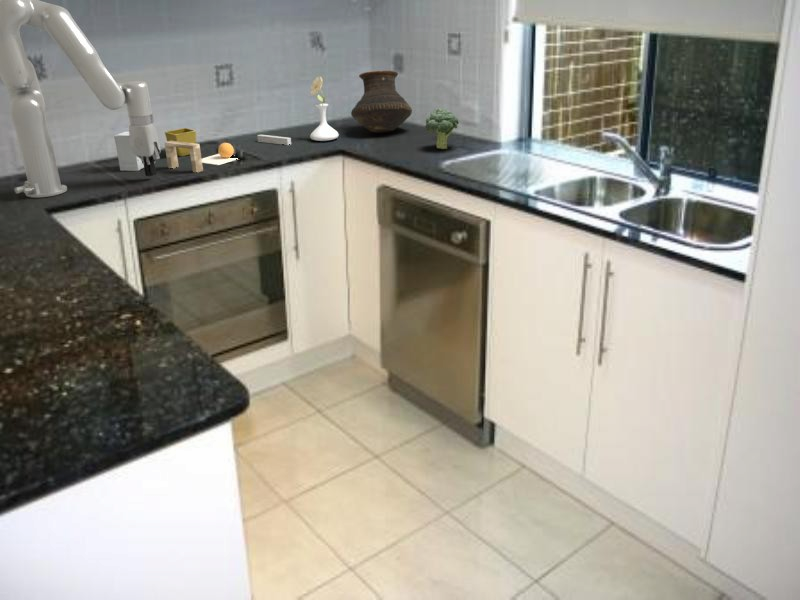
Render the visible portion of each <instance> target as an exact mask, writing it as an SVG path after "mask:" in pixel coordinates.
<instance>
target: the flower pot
mask: <svg viewBox="0 0 800 600" xmlns="http://www.w3.org/2000/svg"><path fill="white" fill-rule="evenodd" d="M196 132H197V130H195V129H191V128H188V127H183V128H178V129H171V130H167V131H164V135H165V138H166V142H167V141H179V142H187V143H195V144H197V133H196ZM176 153H177V157H185V156H188V155H189V156H190V150H189V149H187V148H179V147H176Z"/></svg>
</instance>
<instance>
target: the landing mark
mask: <svg viewBox="0 0 800 600" xmlns="http://www.w3.org/2000/svg"><path fill="white" fill-rule="evenodd" d="M201 159H202V164H208V165H215V166H220V165H223V164H226V163H230V162H234V161H237V160H239V159H238V158H223V157H221V156H220V154H219V153H216V154H213V155H209V156H206V157H203V158H202V157H201ZM236 159H237V160H236Z"/></svg>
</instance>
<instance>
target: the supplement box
mask: <svg viewBox="0 0 800 600" xmlns="http://www.w3.org/2000/svg"><path fill="white" fill-rule="evenodd" d="M113 138H114V142H115V148H116V155H117V158H118V165H119V170H120V171H125V172H130V171H131V172H134V171H135V172H139V171H140V170H141V169H144V164H142V161H141V159H140V158H139V157H137V156H136V155H134V154H133V153H132V152H131V146H130V138H129V131H123V132H120V133H118V134H115V135H113Z"/></svg>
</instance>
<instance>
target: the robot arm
mask: <svg viewBox="0 0 800 600" xmlns="http://www.w3.org/2000/svg"><path fill="white" fill-rule="evenodd" d="M22 25H23V26H28V27H31V28H34V29H37V30H42V31H45V32H47V33H48V34H49V36H50V37H51V39H52V40H53V41H54V43H55V44H56V45H57V46H58V47H59V48H60V50H61V51H62V53H63V54H64V55H65V57H66V59H68V61H69V63H71V65H72V66H73V68H74V69H75V70H76V72H77V73H78V74H79V75H80V76H81V78H82V79H83V81H84V82H85V83H86V84H87V86H88V87H89V88H90V90H91V91H92V93H93V94H94V95H95V97H96V98H97V99H98V100H99V102H100V103H101V104H102V106H103V107H105V108H106V109H108V110H112V111H116V110H120V109H121V108H122V107H123V106H124V105H126V109H127V114H128V120H129V125H128V132H129V138H130V146H131V152H132V153H133V154H134V155H136V156H137V157H139V158H140V159H141V161H142V164H144V168H143V169H144V174H145V176H146V177H152V176H156V175H157V169H156V165H155V164H156V161H157V160H160V158H161V157H160V154H161V146H160V145H161V144H160V139H159V135H158V134H159V133H158V132H157V129H156V126H155V122H154V116H153V110H152V109H153V108H152V105H151V99H150V98H151V97H150V91H149V86H148V83H147V82H145V81H143V80H142V81H141V80H134V81H128V82H116V80H115V78H113V76H112V75H111V73H110V72H109V71H108V69H107V68H106V66H105V65H104V63H103V61H102V60H101V57H100V56H99V53H98V52H97V50H96V49H95V47H94V46H93V44H92V43H91V41H90V40H89V39H88V38H87V36H86V34H85V33H84V32H83V31H82V29H81V28H80V27H79V25H78V24H77V23H76V21H75V20H74V18H73V17H72V14H71V13H70V12H69V10H67V8H65V7H63V6H60V5H56V4H54V3H53V4H52V3H48V2H45V1H41V0H0V78H1V80H2V82H3V83H4V84H5V85H6V88H7V91H8V94H9V97H10V100H11V102H10V106H9V110H10V111H9V112H10V117H11V120H12V123H13V127H14V130H15V134H16V139H17V141H18V142H17V143H18V146H19V150H20V154H21V159H22V163H23V168H24V171H25V175H26V179H27V180H26V181H24V184H22V185H21V186H17V187H14V189H13V190H14V192H15V194H20V193H21V194H22V193H24V194H25V196H26V197H28V198H32V199H33V198H35V199H38V198H39V199H40V198H48V197H54V196H58V195H61V194H63V193H65V192H67V191H68V186H67V185H65V184H61V178H60V175H59V169H58V165H57V159H56V156H55V152H54V148H53V147H54V146H53V143H52V138H51V134H50V133H51V132H50V130H49V125H48V120H47V117H46V103H45V99H44V96H43V92H42V89H41V86H40V83H39V79H38V75H37V73H36V69H35V67H34V65H33V63H32V61H31V60H30V59H29V58H28V56H27V54H26V50H25V48H24V43H23V40H22V37H21V33H20V29H21V26H22Z"/></svg>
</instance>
